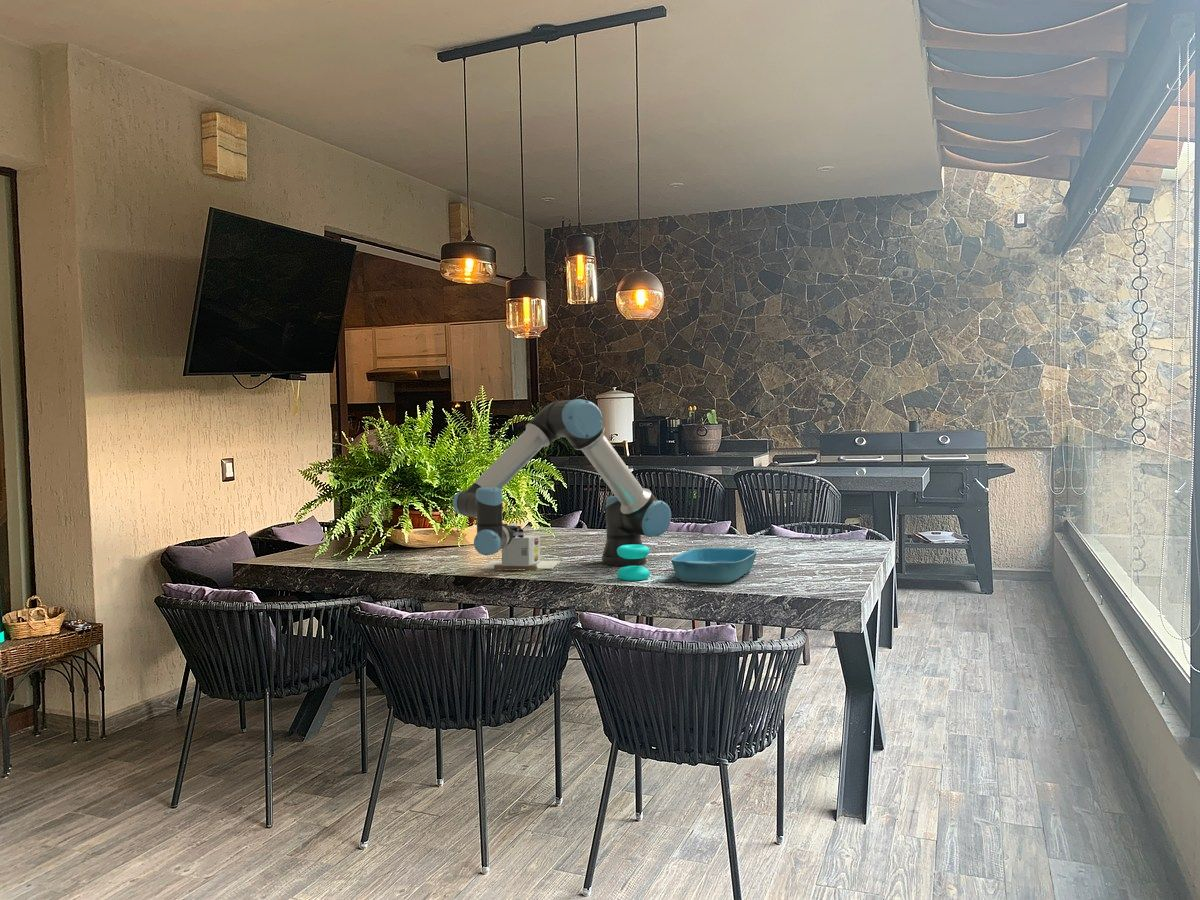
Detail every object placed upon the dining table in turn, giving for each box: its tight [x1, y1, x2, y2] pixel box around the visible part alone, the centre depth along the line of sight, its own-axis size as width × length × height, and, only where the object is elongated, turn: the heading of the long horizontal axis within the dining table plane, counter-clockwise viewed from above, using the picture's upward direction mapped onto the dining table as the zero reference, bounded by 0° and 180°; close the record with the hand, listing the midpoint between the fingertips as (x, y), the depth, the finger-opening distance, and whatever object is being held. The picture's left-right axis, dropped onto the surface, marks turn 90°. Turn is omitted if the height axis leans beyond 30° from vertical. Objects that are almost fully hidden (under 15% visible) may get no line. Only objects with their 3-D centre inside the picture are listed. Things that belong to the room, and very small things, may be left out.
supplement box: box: [501, 535, 541, 566], centre depth 312 cm, size 10×9×17 cm
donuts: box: [616, 544, 651, 582], centre depth 287 cm, size 10×10×10 cm
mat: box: [480, 560, 561, 571], centre depth 315 cm, size 24×17×2 cm
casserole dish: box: [670, 546, 758, 584], centre depth 290 cm, size 37×22×7 cm, turn 158°
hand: (514, 527), depth 307 cm, fingers closed
